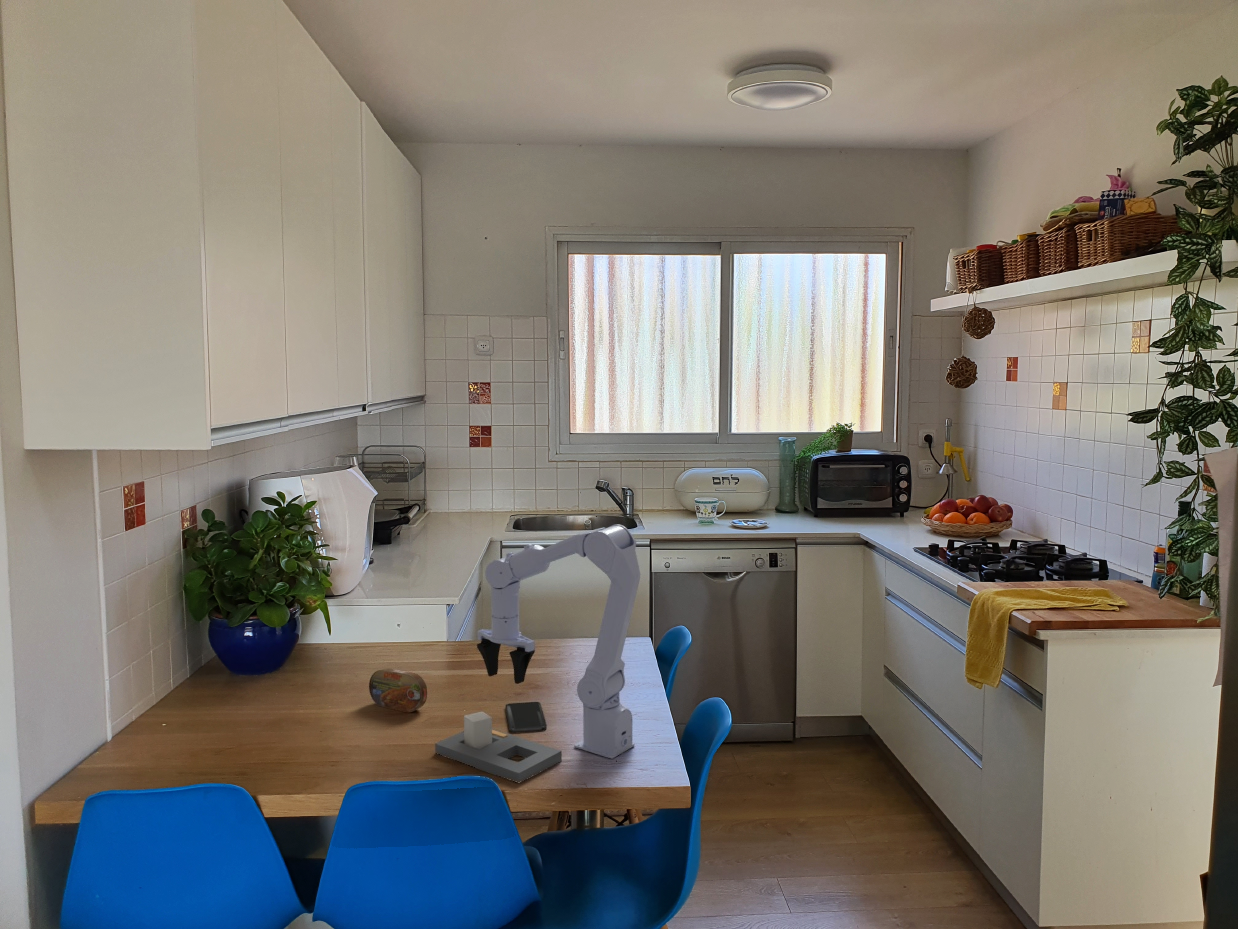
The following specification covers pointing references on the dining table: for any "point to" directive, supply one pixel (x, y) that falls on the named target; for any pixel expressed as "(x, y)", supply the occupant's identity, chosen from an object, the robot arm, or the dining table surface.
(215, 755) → the dining table surface
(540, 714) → the phone
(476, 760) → the socket plate
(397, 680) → the tin
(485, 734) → the plug
